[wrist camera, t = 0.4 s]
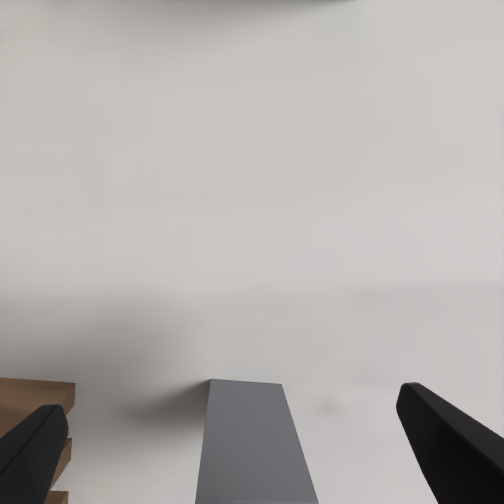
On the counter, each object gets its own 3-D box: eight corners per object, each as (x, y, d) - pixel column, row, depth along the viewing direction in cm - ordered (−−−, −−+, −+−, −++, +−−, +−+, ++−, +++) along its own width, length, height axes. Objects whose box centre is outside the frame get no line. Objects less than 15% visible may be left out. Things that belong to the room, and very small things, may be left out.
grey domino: (278, 405, 21) (313, 537, 12) (208, 400, 21) (192, 533, 12) (281, 384, 21) (318, 502, 12) (210, 378, 21) (195, 497, 12)
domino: (74, 405, 20) (9, 481, 14) (-5, 400, 20) (-104, 476, 14) (75, 383, 20) (10, 450, 14) (-4, 377, 20) (-104, 445, 14)
